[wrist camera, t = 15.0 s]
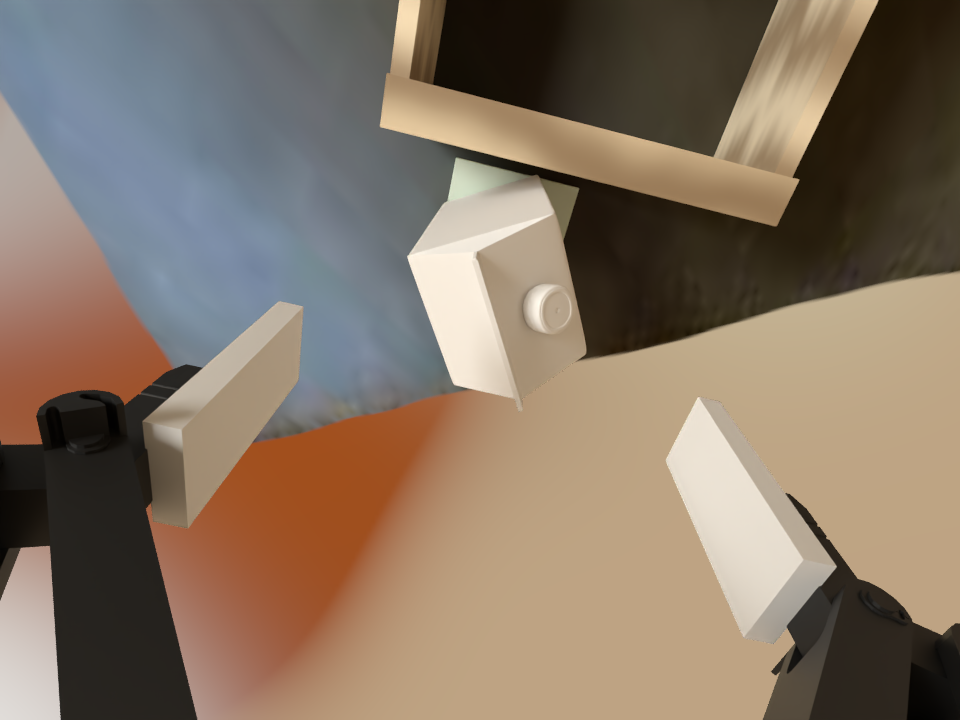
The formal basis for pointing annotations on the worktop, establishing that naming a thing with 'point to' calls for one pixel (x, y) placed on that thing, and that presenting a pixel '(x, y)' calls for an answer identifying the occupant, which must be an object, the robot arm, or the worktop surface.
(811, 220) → the worktop surface
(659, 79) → the worktop surface
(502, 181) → the place mat
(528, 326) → the milk carton
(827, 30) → the crate
